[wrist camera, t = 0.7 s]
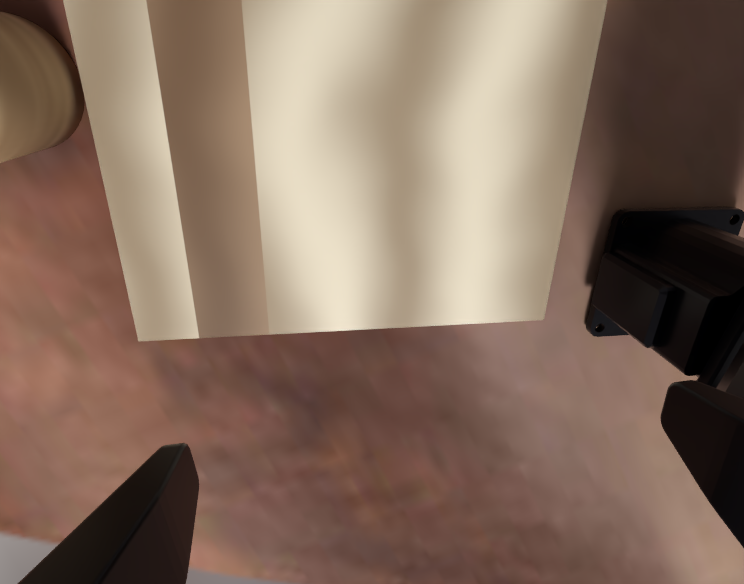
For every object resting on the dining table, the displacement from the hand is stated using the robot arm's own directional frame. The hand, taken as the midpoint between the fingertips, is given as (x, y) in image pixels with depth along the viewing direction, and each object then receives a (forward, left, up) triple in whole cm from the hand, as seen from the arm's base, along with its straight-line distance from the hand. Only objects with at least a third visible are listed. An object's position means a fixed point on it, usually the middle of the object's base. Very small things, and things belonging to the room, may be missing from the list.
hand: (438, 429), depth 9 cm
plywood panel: (0, -6, -13) cm, 14 cm away
